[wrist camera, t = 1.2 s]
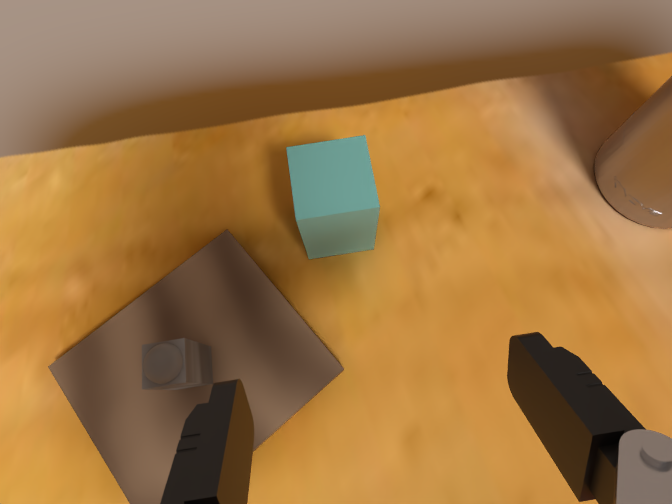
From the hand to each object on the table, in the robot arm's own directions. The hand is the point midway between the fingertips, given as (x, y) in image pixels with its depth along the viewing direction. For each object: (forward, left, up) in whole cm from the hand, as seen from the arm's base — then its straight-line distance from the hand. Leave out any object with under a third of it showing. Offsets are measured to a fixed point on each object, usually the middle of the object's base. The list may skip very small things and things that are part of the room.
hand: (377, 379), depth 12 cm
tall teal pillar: (-7, -11, -18) cm, 22 cm away
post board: (+8, -9, -18) cm, 22 cm away
